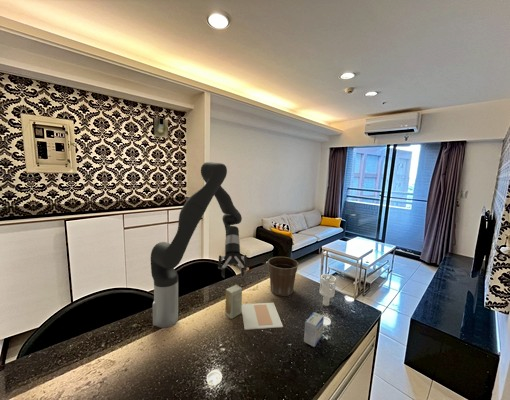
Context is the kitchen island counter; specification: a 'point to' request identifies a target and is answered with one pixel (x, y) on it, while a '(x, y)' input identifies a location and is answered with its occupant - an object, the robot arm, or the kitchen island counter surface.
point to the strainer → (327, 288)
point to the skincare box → (233, 301)
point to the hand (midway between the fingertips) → (233, 276)
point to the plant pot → (282, 275)
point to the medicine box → (313, 329)
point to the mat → (260, 316)
